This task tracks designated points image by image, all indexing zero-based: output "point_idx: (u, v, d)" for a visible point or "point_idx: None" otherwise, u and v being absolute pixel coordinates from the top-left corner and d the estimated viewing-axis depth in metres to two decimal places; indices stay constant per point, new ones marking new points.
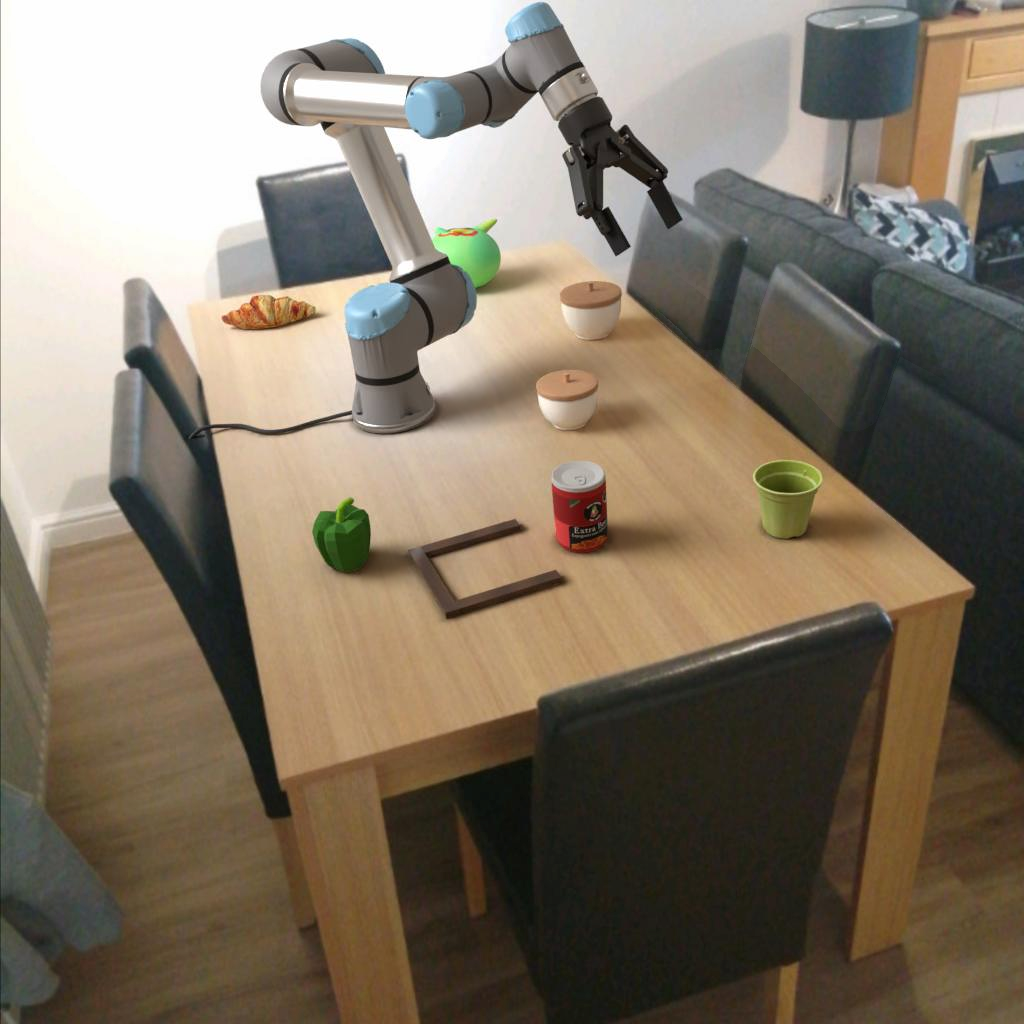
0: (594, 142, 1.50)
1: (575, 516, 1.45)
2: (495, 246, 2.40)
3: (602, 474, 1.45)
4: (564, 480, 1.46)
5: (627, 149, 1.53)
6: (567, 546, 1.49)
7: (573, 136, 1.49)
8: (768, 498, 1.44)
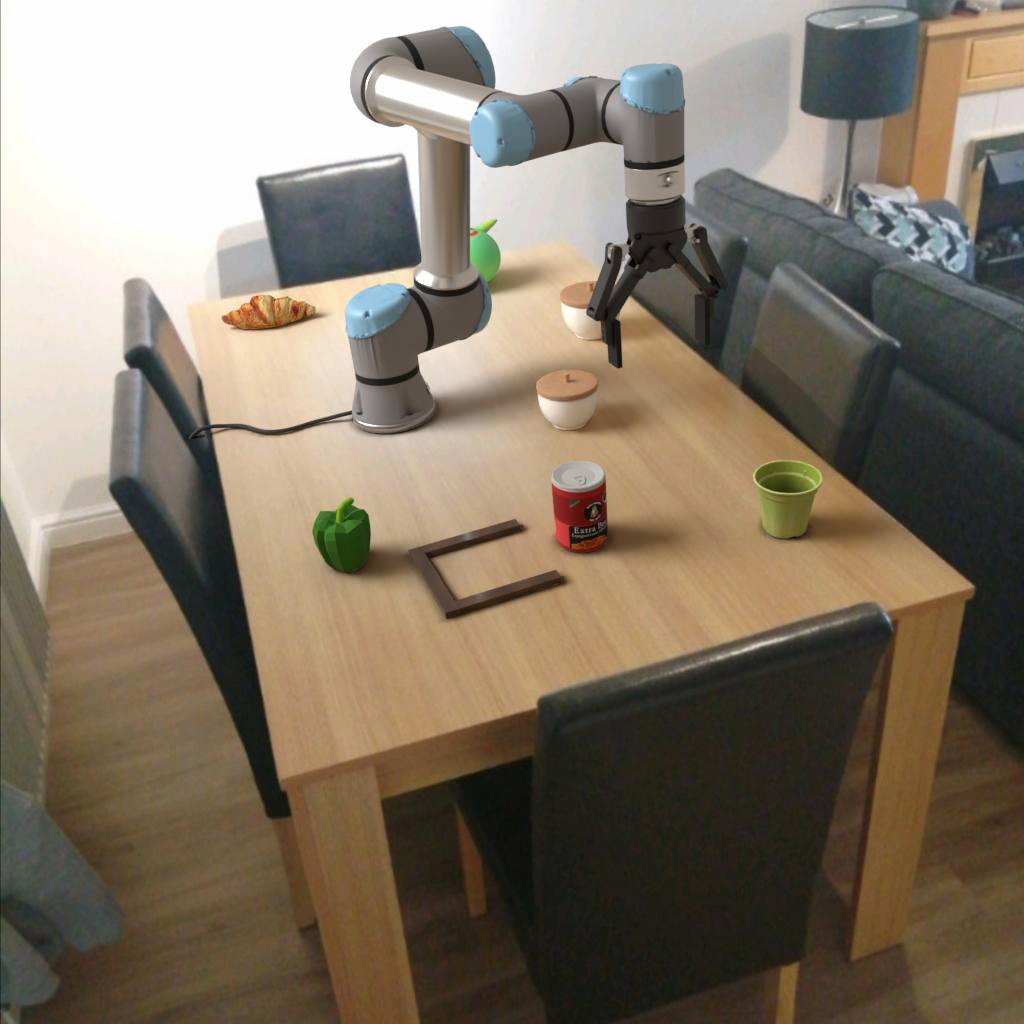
0: (647, 245, 1.33)
1: (575, 516, 1.45)
2: (495, 246, 2.40)
3: (602, 474, 1.45)
4: (564, 480, 1.46)
5: (685, 260, 1.35)
6: (567, 546, 1.49)
7: (629, 229, 1.32)
8: (768, 498, 1.44)
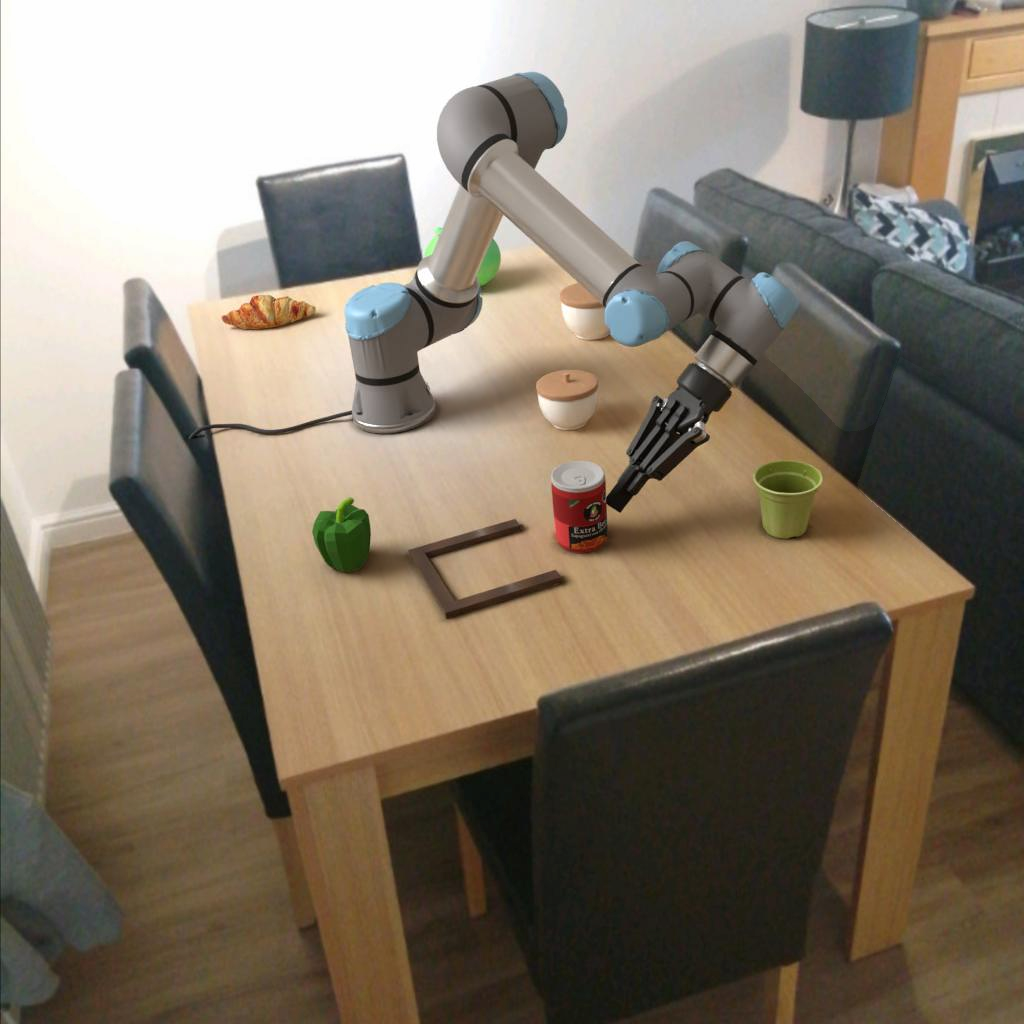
0: None
1: (574, 516, 1.45)
2: (495, 246, 2.40)
3: (602, 474, 1.45)
4: (564, 480, 1.46)
5: None
6: (567, 546, 1.49)
7: (711, 404, 1.44)
8: (768, 498, 1.44)
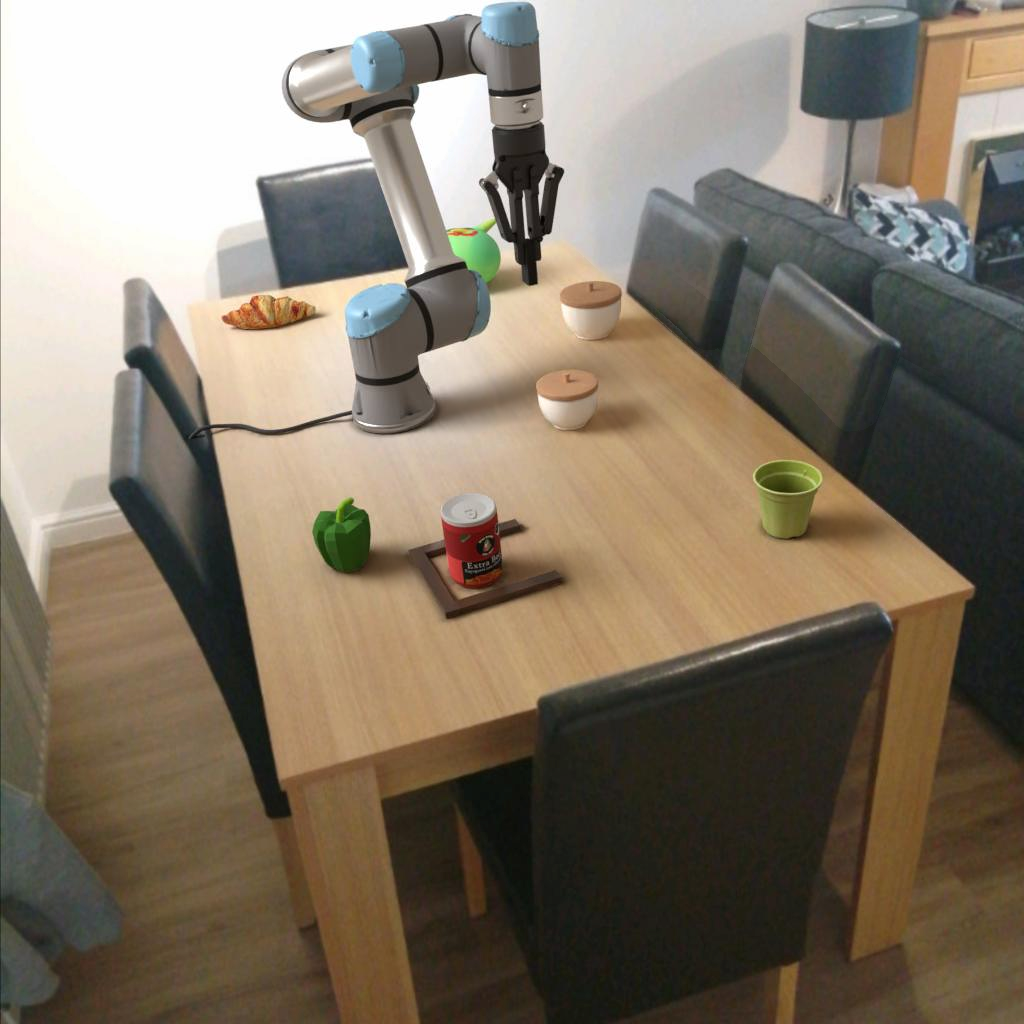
0: (508, 162, 1.49)
1: (467, 551, 1.40)
2: (495, 246, 2.40)
3: (493, 506, 1.41)
4: (454, 514, 1.40)
5: (536, 189, 1.52)
6: (461, 582, 1.43)
7: (495, 152, 1.49)
8: (768, 498, 1.44)
